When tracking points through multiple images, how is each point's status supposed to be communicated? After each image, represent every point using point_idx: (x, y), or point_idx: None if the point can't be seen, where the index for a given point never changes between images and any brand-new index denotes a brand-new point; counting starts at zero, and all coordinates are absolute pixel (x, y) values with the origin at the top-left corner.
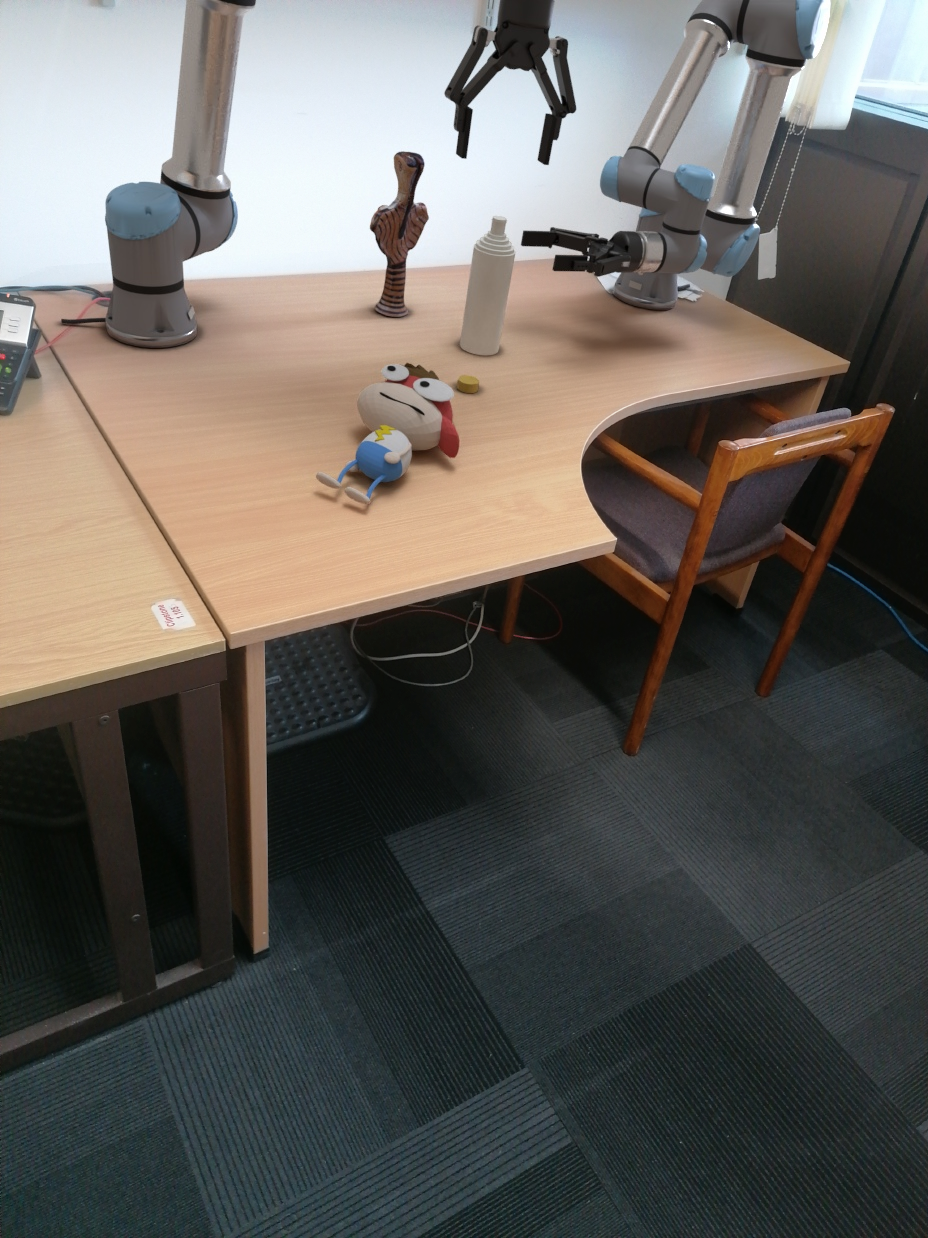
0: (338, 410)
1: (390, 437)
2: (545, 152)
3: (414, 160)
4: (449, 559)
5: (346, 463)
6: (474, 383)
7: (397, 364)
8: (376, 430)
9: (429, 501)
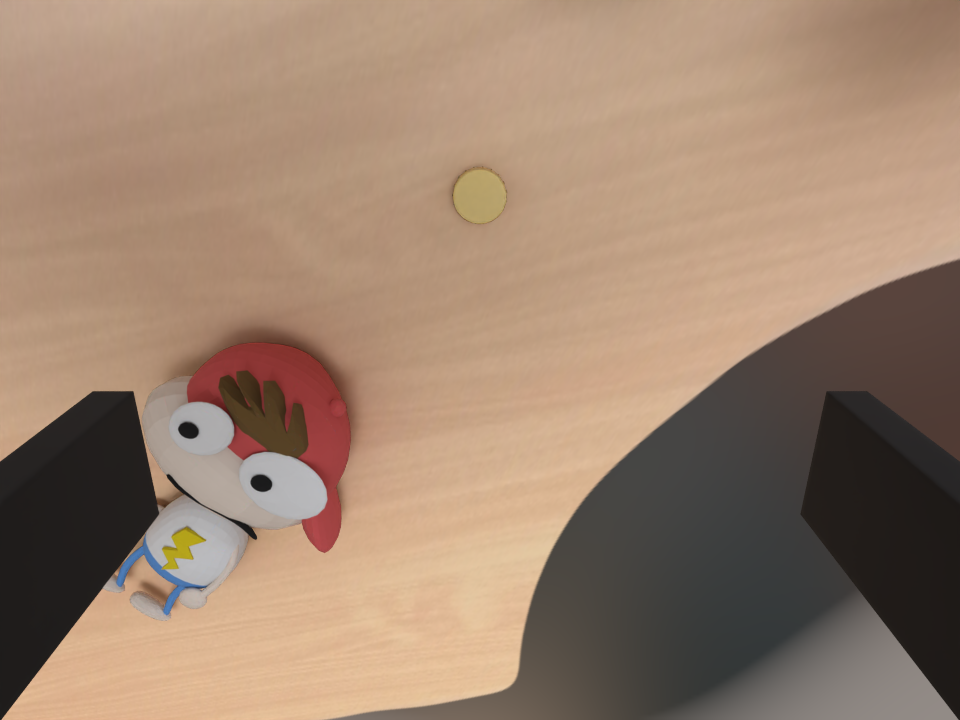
0: (149, 287)
1: (190, 565)
2: (845, 551)
3: None
4: (275, 701)
5: None
6: (487, 219)
7: (207, 409)
8: (164, 550)
9: (277, 588)
